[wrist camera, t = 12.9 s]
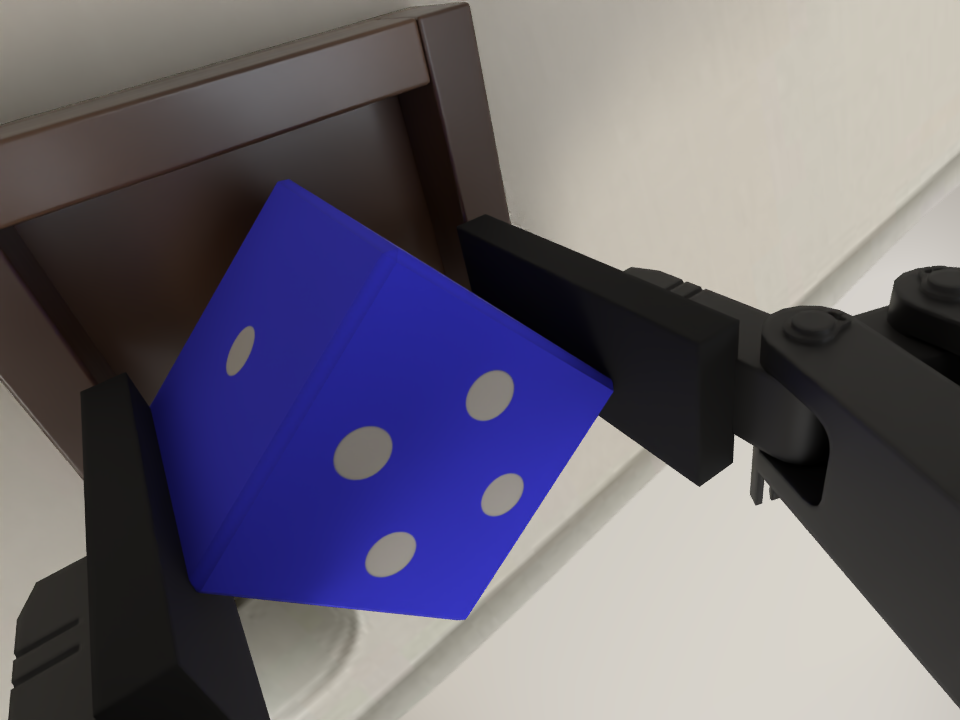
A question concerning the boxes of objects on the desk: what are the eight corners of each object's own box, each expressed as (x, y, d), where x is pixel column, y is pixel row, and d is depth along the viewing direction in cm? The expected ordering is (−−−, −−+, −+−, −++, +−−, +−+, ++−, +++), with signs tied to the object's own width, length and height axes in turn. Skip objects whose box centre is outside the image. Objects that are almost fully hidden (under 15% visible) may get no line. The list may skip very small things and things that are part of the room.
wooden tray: (177, 543, 16) (192, 614, 14) (-120, 159, 10) (-163, 187, 8) (497, 368, 20) (546, 405, 18) (413, 6, 14) (470, 0, 12)
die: (279, 173, 11) (393, 245, 7) (473, 292, 14) (622, 386, 10) (144, 409, 11) (184, 599, 7) (362, 472, 14) (466, 626, 11)
